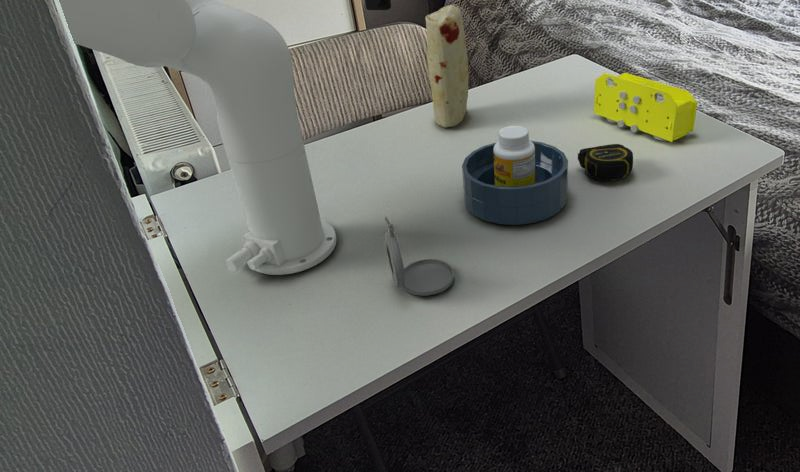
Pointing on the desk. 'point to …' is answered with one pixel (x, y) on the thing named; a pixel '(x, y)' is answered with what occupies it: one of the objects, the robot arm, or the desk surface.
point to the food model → (447, 65)
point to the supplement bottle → (514, 158)
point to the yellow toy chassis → (645, 105)
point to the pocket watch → (417, 270)
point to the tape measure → (606, 161)
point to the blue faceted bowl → (515, 201)
